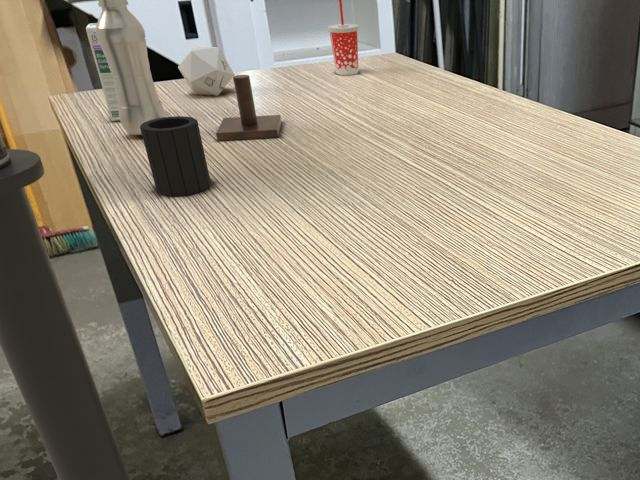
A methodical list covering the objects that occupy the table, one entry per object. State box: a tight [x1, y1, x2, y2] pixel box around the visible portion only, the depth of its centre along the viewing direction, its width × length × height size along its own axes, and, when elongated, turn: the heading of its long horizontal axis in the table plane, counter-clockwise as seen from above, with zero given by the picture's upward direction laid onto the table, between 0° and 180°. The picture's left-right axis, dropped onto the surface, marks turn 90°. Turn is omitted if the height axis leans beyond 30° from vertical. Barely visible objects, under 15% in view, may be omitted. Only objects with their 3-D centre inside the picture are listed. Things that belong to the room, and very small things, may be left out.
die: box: [177, 45, 235, 97], centre depth 132 cm, size 8×9×10 cm
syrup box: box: [85, 22, 120, 122], centre depth 116 cm, size 6×6×14 cm
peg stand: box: [216, 74, 282, 142], centre depth 109 cm, size 9×9×8 cm
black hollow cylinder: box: [140, 115, 212, 197], centre depth 87 cm, size 6×6×8 cm
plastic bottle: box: [96, 0, 167, 136], centre depth 105 cm, size 6×7×20 cm
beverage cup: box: [327, 0, 359, 76], centre depth 144 cm, size 6×6×14 cm
